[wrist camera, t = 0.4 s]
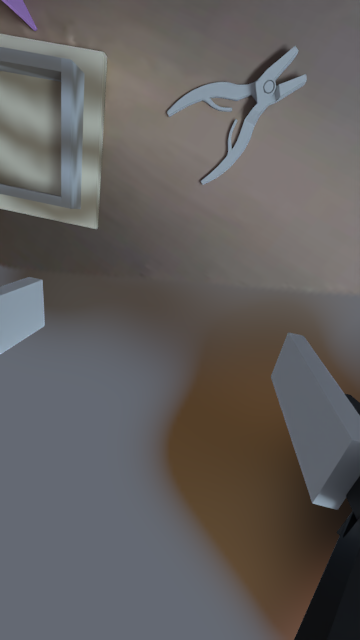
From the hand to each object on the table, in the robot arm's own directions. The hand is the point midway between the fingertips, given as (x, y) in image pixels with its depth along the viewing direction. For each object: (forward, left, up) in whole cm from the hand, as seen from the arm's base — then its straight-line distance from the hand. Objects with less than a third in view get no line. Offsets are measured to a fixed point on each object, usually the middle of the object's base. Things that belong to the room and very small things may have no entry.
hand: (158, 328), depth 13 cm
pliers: (-18, +1, -28) cm, 33 cm away
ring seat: (-11, -26, -27) cm, 39 cm away
